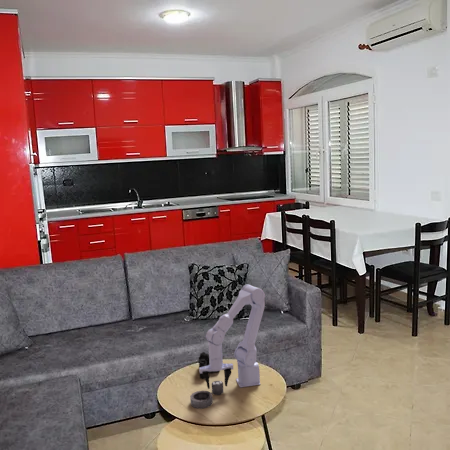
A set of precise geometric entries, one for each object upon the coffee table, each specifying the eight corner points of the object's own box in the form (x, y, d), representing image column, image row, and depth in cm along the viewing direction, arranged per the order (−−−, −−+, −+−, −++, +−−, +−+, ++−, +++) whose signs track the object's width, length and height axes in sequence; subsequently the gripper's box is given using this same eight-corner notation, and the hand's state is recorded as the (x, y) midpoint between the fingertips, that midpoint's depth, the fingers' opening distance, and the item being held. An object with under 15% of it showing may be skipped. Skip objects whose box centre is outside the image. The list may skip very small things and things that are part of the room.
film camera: (219, 379, 214) (218, 360, 212) (198, 380, 214) (197, 361, 213) (220, 364, 229) (219, 347, 227) (200, 365, 229) (199, 348, 228)
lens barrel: (210, 396, 199) (210, 389, 198) (214, 406, 190) (213, 399, 189) (189, 399, 197) (189, 392, 197) (192, 409, 188) (191, 403, 188)
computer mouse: (222, 388, 204) (222, 379, 204) (224, 394, 200) (224, 384, 199) (211, 390, 204) (210, 380, 203) (213, 395, 199) (212, 386, 198)
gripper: (230, 350, 205) (231, 380, 206) (197, 354, 202) (199, 384, 204) (233, 357, 198) (235, 387, 200) (200, 361, 195) (201, 392, 197)
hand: (217, 386), depth 201 cm, fingers open, 7 cm apart
